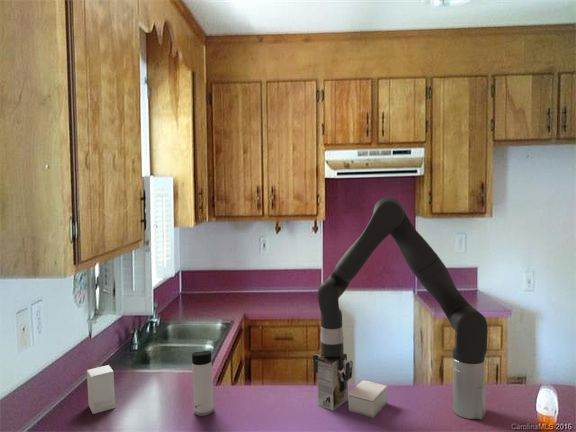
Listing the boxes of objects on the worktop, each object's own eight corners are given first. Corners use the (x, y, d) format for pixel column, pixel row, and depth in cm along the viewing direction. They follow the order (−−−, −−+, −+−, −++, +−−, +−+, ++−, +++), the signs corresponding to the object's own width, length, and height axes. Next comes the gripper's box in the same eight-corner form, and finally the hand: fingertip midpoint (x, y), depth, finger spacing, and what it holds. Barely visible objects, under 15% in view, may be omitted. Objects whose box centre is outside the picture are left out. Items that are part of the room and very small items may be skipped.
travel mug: (195, 418, 140) (192, 356, 139) (193, 408, 146) (190, 349, 145) (214, 414, 142) (212, 353, 140) (212, 405, 148) (210, 346, 147)
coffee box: (332, 395, 153) (331, 349, 152) (348, 400, 149) (347, 353, 148) (317, 405, 146) (316, 357, 145) (333, 411, 142) (332, 362, 141)
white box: (387, 403, 146) (386, 388, 146) (373, 418, 137) (373, 402, 137) (363, 396, 151) (363, 382, 150) (348, 410, 142) (348, 395, 141)
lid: (386, 387, 146) (386, 385, 145) (373, 401, 136) (373, 399, 136) (363, 381, 150) (363, 380, 150) (348, 394, 141) (348, 392, 141)
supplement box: (116, 407, 148) (114, 371, 147) (92, 414, 144) (90, 377, 143) (111, 399, 154) (109, 364, 153) (88, 405, 150) (86, 369, 149)
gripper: (307, 339, 147) (308, 387, 148) (346, 347, 139) (347, 398, 140) (319, 332, 153) (320, 379, 154) (356, 339, 145) (357, 389, 146)
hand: (332, 388), depth 147 cm, fingers closed on coffee box, 6 cm apart
